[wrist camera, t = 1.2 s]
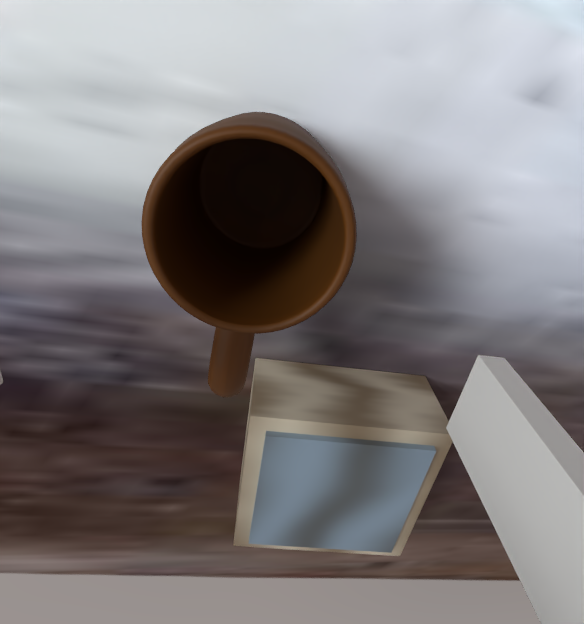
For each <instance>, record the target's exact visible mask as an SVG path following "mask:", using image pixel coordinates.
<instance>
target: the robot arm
mask: <svg viewBox="0 0 584 624" xmlns="http://www.w3.org/2000/svg"><path fill="white" fill-rule="evenodd" d="M2 383H3V379H2V374H1V370H0V385H1V384H2ZM446 429H447V431H448V433H449V435H450V437H451V439H452V441H453V443H454V445H455V447H456V449H457V451H458V454H459V456H460V458H461V460H462V462H463V464H464V466H465V468H466V470H467V472H468V474H469V476H470V478H471V480H472V482H473V484H474V487H475V489H476V491H477V493H478V495H479V497H480V499H481V501H482V503H483V505H484V507H485V509H486V511H487V513H488V515H489V517H490V520H491V522H492V524H493V526H494V528H495V530H496V532H497V534H498V536H499V538H500V540H501V542H502V544H503V546H504V548H505V550H506V553H507V555H508V557H509V559H510V561H511V563H512V565H513V567H514V569H515V571H516V573H517V575H518V577H519V579H520V581H521V583H522V585H523V588H524V590H525V592H526V594H527V596H528V598H529V600H530V602H531V604H532V606H533V608H534V610H535V612H536V614H537V616H538V619H539V620H540V622H541V624H584V452H583V451H582V450H581V449H580V448H579V446H578V445H577V444H576V443H575V442H574V440H573V439H572V438H571V437H570V436H569V434H568V433H567V432H566V431H565V430H564V429H563V427H562V426H561V425H560V424H559V423H558V421H557V420H556V419H555V418H554V417H553V415H552V414H551V413H550V412H549V411H548V409H547V408H546V407H545V406H544V405H543V403H542V402H541V401H540V400H539V399H538V397H537V396H536V395H535V394H534V393H533V392H532V390H531V389H530V388H529V387H528V386H527V384H526V383H525V382H524V381H523V380H522V378H521V377H520V376H519V375H518V374H517V372H516V371H515V370H514V369H513V368H512V366H511V365H510V364H509V363H508V362H507V361H506V359H505V358H500V357H492V356H484V355H478V357H477V359H476V361H475V364H474V366H473V368H472V370H471V373H470V375H469V377H468V379H467V382H466V384H465V386H464V388H463V391H462V393H461V395H460V398H459V400H458V402H457V404H456V407H455V409H454V411H453V413H452V416H451V418H450V420H449V422H448V425H447V427H446Z"/></svg>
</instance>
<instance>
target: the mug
mask: <svg viewBox="0 0 584 624" xmlns="http://www.w3.org/2000/svg"><path fill="white" fill-rule="evenodd" d="M142 237H143V243H144V248H145V252H146V255H147V258H148V261H149V264H150V266H151V268H152V270H153V273H154V274H155V276H156V278H157V279H158V281H159V283H160V284H161V286H162V287H163V288H164V290H165V291H166V292H167V293H168V295H169V296H170V297H171V298H172V299H173V300H174V301H175V302H176V303H177V304H178V305H179V306H180V307H182V308H183V309H184V310H185V311H187V312H188V313H189V314H191V315H193V316H194V317H196V318H197V319H199V320H201V321H203V322H205V323H207V324H209V325H212V326H215V327H216V330H215V335H214V341H213V347H212V353H211V359H210V365H209V373H208V384H209V386H210V388H211V390H212V391H213V392H214V393H215V394H217V395H219V396H222V397H232V396H234V395H237V394H238V393H239V392H240V391H241V390H242V389H243V387H244V384H245V381H246V377H247V372H248V367H249V362H250V356H251V351H252V345H253V340H254V334H255V333H267V332H274V331H278V330H283V329H286V328H289V327H291V326H294V325H296V324H298V323H300V322H302V321H304V320H306V319H308V318H309V317H311V316H312V315H314V314H316V313H317V312H318V311H319V310H320V309H322V308H323V307H324V306H325V305H326V304H327V303H328V302H329V301H330V300H331V299H332V298H333V297H334V296H335V294H336V293H337V291H338V290H339V289H340V287H341V286H342V284H343V282H344V280H345V279H346V277H347V275H348V272H349V270H350V267H351V265H352V262H353V257H354V253H355V248H356V237H357V233H356V219H355V213H354V208H353V205H352V202H351V199H350V195H349V192H348V189H347V186H346V183H345V181H344V179H343V177H342V175H341V173H340V171H339V169H338V168H337V166H336V165H335V163H334V162H333V160H332V159H331V157H330V156H329V155H328V154H327V152H326V151H325V150H324V149H323V148H322V146H321V145H320V144H319V143H318V142H317V141H316V140H315V139H314V138H313V137H312V136H311V135H310V134H309V133H308V132H307V131H306V130H305V129H304V128H302V127H301V126H299V125H298V124H296V123H295V122H293V121H291V120H289V119H287V118H285V117H282V116H279V115H276V114H271V113H265V112H251V113H243V114H239V115H236V116H232V117H229V118H226V119H223V120H221V121H218V122H216V123H214V124H211V125H209V126H207V127H205V128H203V129H201V130H199V131H198V132H196V133H195V134H193V135H192V136H190V137H189V138H187V139H186V140H185V141H184V142H183V143H182V144H181V145H180V146H178V147H177V149H176V150H175V151H174V152H173V153H172V154H171V155H170V156H169V157H168V158H167V160H166V161H165V162H164V163H163V164H162V166H161V167H160V168H159V170H158V171H157V173H156V175H155V176H154V178H153V180H152V182H151V184H150V187H149V189H148V191H147V194H146V198H145V202H144V206H143V214H142Z"/></svg>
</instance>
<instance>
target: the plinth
mask: <svg viewBox="0 0 584 624" xmlns="http://www.w3.org/2000/svg"><path fill="white" fill-rule="evenodd" d="M448 422H449V421H448V419H447V417H446V415H445V413H444V411H443V409H442V408H441V406H440V404H439V402H438V400H437V398H436V396H435V394H434V392H433V390H432V388H431V386H430V384H429V383H428V381H427V379H426V377H425V376H421V375H412V374H402V373H393V372H383V371H374V370H364V369H355V368H346V367H336V366H327V365H317V364H308V363H299V362H289V361H280V360H270V359H261V358H256V359H255V366H254V374H253V382H252V390H251V398H250V406H249V414H248V421H247V429H246V437H245V445H244V453H243V461H242V469H241V476H240V486H239V495H238V505H237V515H236V524H235V534H234V544H233V546H244V547H260V548H276V549H292V550H308V551H324V552H340V553H356V554H373V555H389V556H400V555H401V552H402V550H403V548H404V546H405V544H406V542H407V539H408V537H409V535H410V533H411V531H412V529H413V526H414V524H415V522H416V520H417V518H418V516H419V513H420V511H421V509H422V507H423V505H424V503H425V501H426V498H427V496H428V494H429V492H430V490H431V488H432V485H433V483H434V481H435V479H436V477H437V475H438V472H439V470H440V468H441V466H442V464H443V462H444V459H445V457H446V455H447V453H448V451H449V449H450V446H451V444H452V442H453V441H452V439H451V437H450V435H449V433H448V431H447V429H446V427H447V425H448Z"/></svg>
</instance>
